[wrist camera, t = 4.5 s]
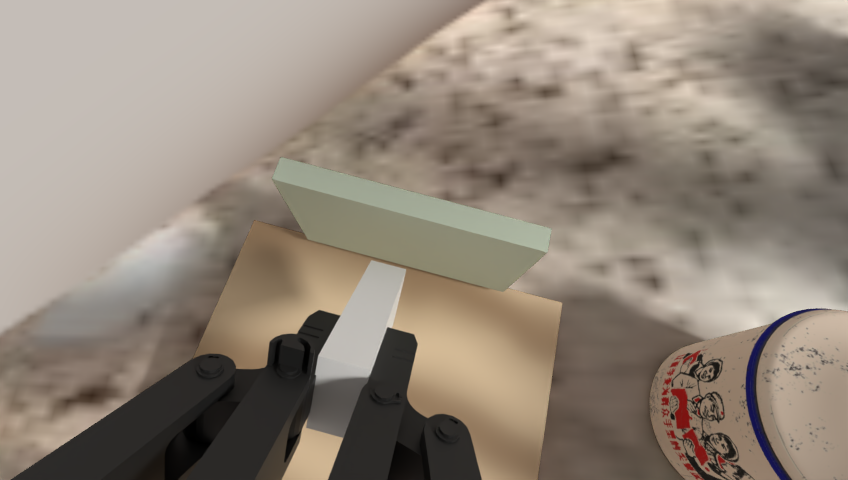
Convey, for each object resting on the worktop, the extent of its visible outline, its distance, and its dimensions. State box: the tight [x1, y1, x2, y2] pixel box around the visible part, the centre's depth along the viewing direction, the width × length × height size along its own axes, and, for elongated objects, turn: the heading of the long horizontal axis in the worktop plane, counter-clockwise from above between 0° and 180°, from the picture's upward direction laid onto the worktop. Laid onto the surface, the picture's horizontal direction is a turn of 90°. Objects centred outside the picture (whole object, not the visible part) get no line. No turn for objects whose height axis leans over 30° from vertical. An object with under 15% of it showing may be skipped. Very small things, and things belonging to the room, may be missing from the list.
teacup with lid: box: [650, 309, 848, 480], centre depth 21 cm, size 12×9×12 cm
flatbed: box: [193, 220, 562, 480], centre depth 21 cm, size 17×18×9 cm
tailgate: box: [272, 157, 552, 292], centre depth 21 cm, size 2×11×8 cm, turn 75°
